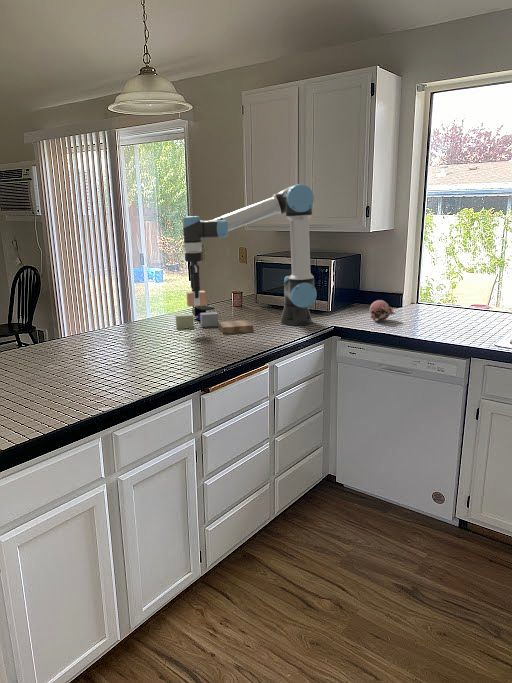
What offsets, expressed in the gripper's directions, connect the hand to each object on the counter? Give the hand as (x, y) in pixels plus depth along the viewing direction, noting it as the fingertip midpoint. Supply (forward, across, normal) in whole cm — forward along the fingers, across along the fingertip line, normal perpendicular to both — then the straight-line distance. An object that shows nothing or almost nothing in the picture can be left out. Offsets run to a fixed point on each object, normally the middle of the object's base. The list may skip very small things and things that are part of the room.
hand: (196, 304), depth 236 cm
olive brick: (+13, -14, -4) cm, 20 cm away
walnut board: (+14, 0, +18) cm, 22 cm away
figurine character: (+14, -27, +7) cm, 31 cm away
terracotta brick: (0, 0, 0) cm, 0 cm away
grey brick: (+14, -14, +8) cm, 21 cm away
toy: (+15, +5, +90) cm, 91 cm away
